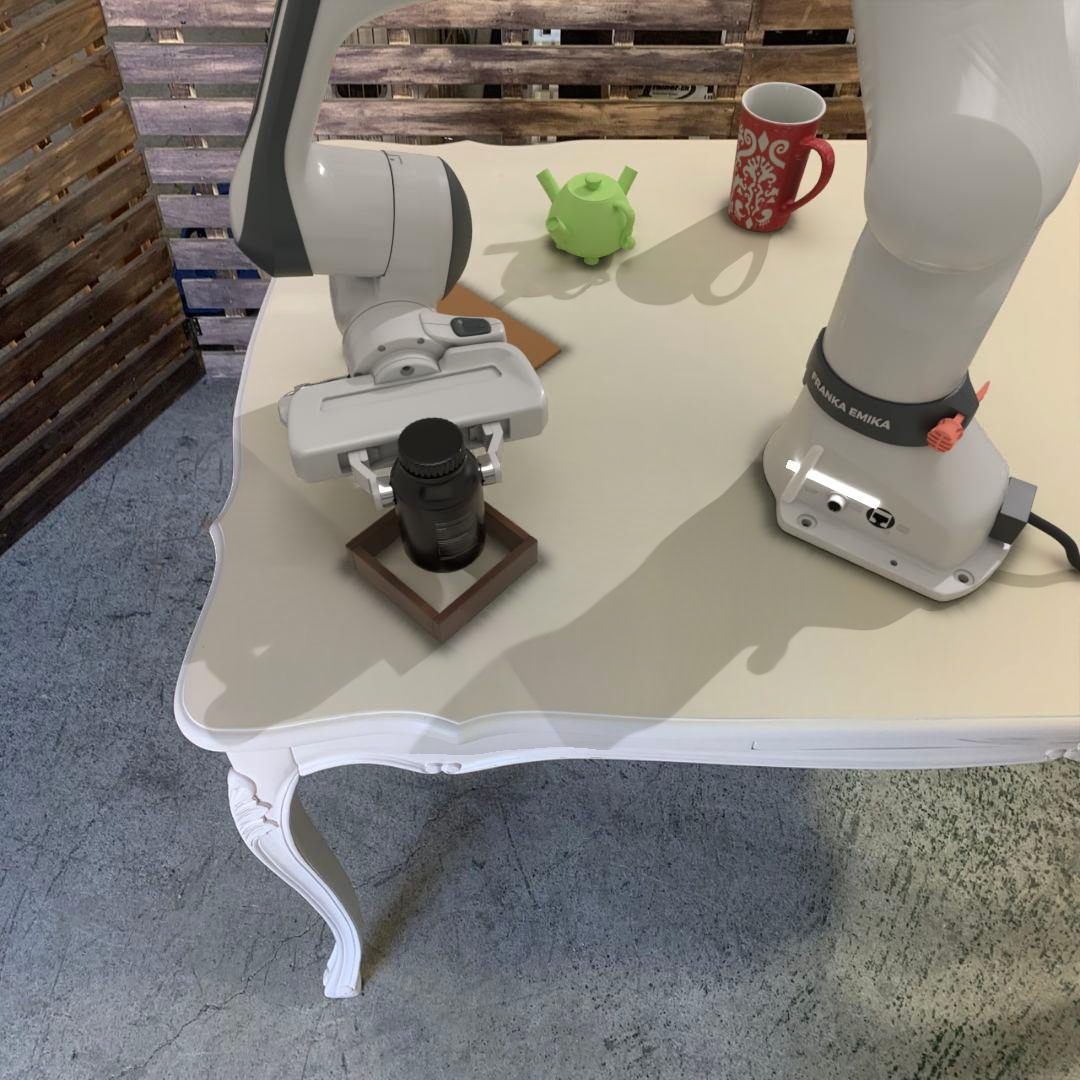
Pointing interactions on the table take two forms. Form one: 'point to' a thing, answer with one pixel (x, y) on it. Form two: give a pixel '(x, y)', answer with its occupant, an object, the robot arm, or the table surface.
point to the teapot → (590, 213)
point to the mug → (776, 154)
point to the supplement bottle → (438, 496)
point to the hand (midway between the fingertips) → (439, 490)
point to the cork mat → (516, 332)
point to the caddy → (467, 603)
